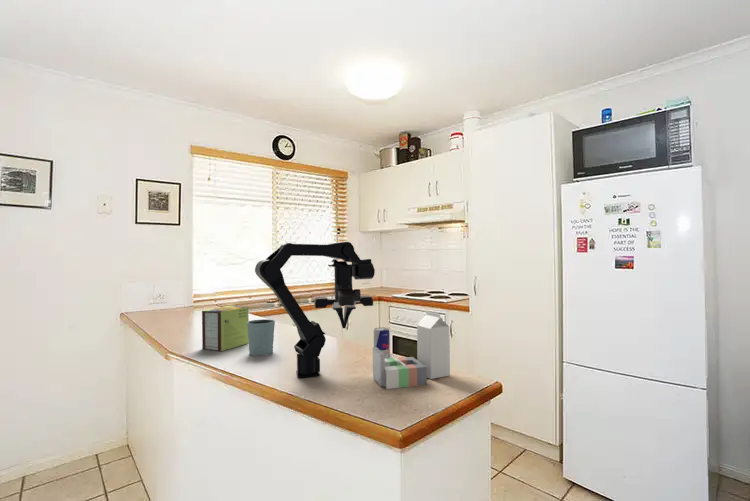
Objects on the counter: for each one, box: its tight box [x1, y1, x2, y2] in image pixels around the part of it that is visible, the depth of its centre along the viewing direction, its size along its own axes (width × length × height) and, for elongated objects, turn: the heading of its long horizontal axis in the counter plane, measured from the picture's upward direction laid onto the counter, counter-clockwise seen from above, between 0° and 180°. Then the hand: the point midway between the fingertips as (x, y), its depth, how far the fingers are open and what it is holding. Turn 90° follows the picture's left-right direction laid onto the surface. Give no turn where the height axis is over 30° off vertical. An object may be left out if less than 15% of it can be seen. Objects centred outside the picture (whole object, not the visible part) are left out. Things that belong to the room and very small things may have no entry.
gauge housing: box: [383, 356, 428, 390], centre depth 113 cm, size 12×11×5 cm
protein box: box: [201, 305, 250, 352], centre depth 158 cm, size 10×15×16 cm
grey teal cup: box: [247, 318, 276, 357], centre depth 147 cm, size 10×10×12 cm
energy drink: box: [373, 326, 391, 359], centre depth 129 cm, size 5×5×12 cm
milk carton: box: [416, 310, 451, 380], centre depth 118 cm, size 7×7×19 cm
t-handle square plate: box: [372, 346, 406, 387], centre depth 112 cm, size 9×12×9 cm
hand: (343, 328), depth 126 cm, fingers closed
